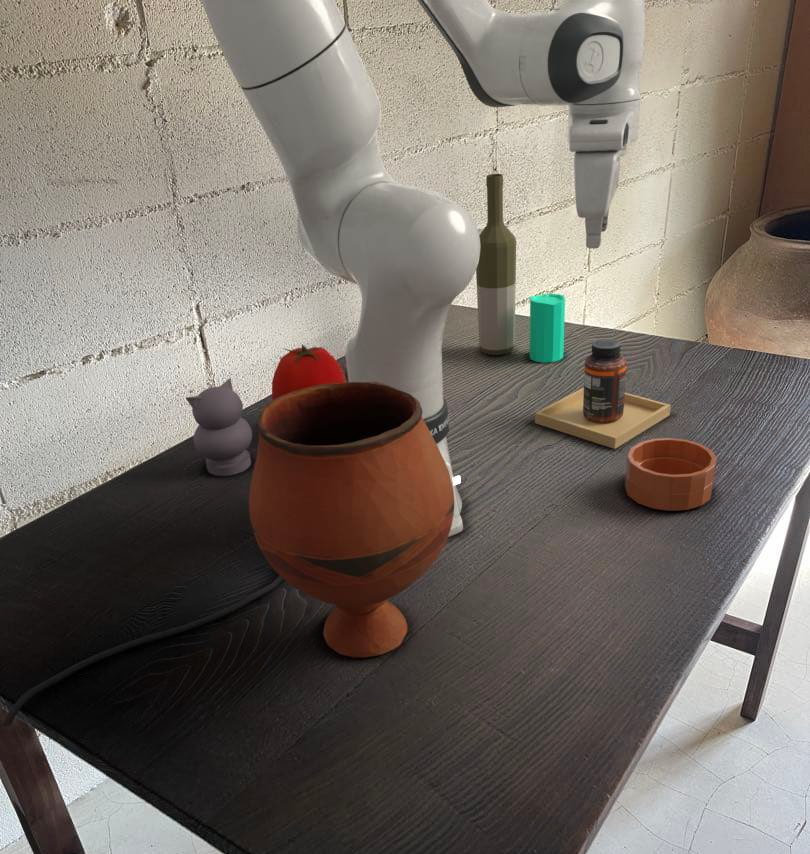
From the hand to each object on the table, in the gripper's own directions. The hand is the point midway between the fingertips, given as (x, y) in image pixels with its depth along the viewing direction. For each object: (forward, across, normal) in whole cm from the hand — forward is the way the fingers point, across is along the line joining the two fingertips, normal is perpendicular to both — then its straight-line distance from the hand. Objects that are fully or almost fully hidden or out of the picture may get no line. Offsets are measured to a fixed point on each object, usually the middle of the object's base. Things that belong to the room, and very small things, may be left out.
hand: (596, 238), depth 113 cm
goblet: (+26, +57, -16) cm, 65 cm away
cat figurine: (+26, +25, -49) cm, 61 cm away
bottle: (+26, -25, -19) cm, 41 cm away
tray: (+26, +2, +2) cm, 26 cm away
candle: (+26, -23, -10) cm, 36 cm away
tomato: (+26, +11, -41) cm, 50 cm away
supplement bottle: (+25, +2, +2) cm, 26 cm away
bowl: (+26, +23, +12) cm, 37 cm away
